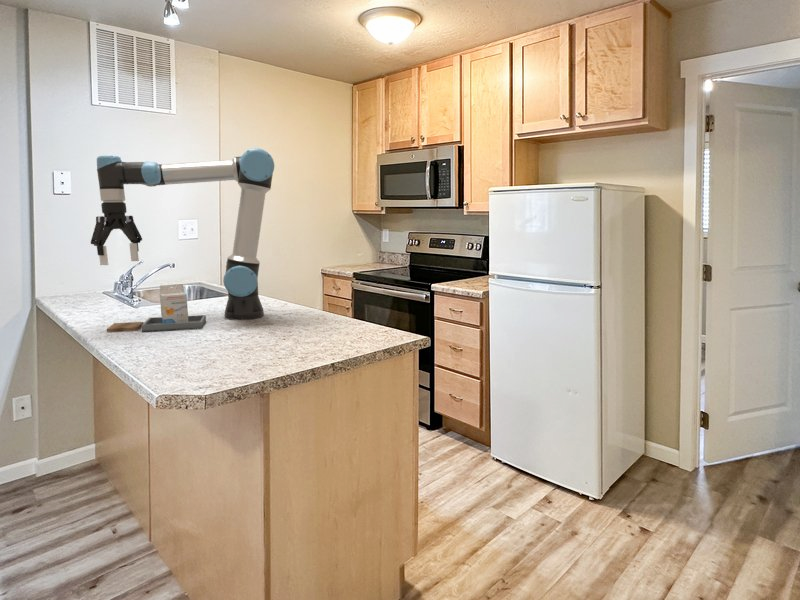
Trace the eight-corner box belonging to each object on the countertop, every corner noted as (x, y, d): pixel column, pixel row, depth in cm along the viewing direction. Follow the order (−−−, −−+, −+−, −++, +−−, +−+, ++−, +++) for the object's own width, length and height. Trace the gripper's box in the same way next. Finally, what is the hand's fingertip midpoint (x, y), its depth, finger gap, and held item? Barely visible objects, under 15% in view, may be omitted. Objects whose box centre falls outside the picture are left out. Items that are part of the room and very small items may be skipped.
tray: (206, 321, 204) (205, 315, 203) (202, 329, 190) (201, 322, 190) (150, 324, 199) (149, 317, 199) (141, 332, 186) (141, 325, 185)
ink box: (164, 327, 190) (161, 287, 188) (161, 325, 194) (158, 285, 192) (189, 324, 195) (186, 285, 192) (186, 322, 199) (183, 283, 197)
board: (143, 324, 198) (143, 321, 198) (137, 330, 188) (137, 327, 188) (114, 326, 196) (114, 323, 195) (106, 332, 186) (106, 328, 186)
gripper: (132, 202, 196) (138, 259, 200) (73, 202, 173) (81, 266, 176) (148, 201, 194) (154, 259, 197) (91, 201, 170) (99, 266, 174)
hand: (120, 263), depth 187 cm, fingers open, 13 cm apart
